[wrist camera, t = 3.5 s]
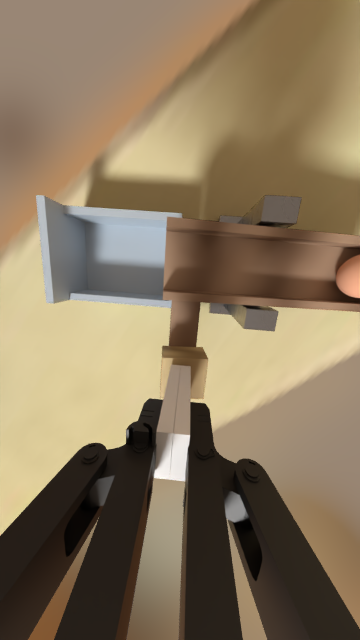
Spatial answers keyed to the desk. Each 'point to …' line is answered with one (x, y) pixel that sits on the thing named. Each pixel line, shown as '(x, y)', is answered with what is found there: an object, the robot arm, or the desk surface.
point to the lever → (244, 278)
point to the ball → (349, 277)
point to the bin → (103, 254)
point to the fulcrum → (271, 215)
